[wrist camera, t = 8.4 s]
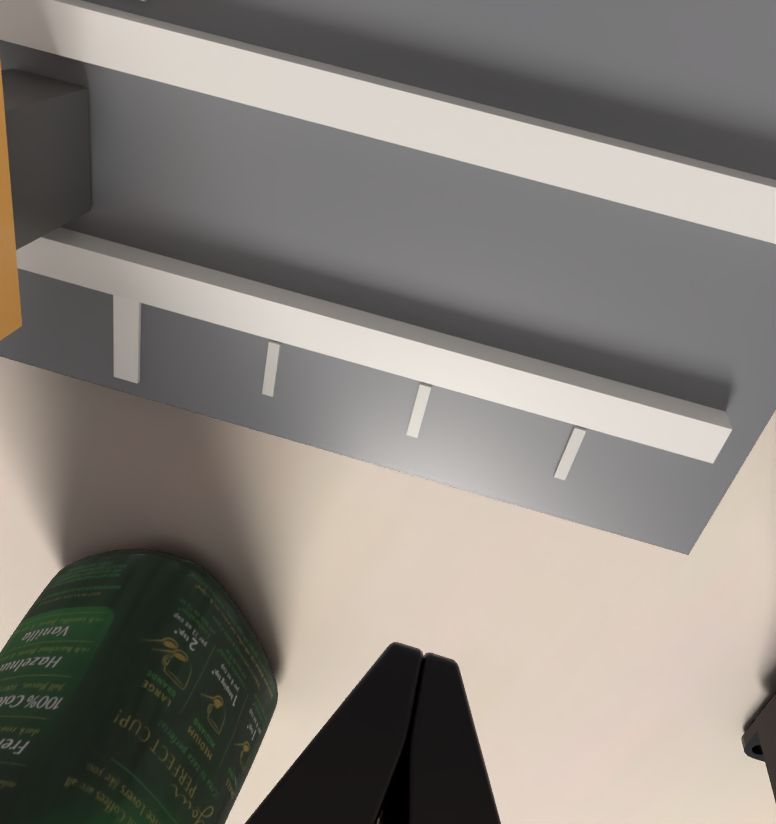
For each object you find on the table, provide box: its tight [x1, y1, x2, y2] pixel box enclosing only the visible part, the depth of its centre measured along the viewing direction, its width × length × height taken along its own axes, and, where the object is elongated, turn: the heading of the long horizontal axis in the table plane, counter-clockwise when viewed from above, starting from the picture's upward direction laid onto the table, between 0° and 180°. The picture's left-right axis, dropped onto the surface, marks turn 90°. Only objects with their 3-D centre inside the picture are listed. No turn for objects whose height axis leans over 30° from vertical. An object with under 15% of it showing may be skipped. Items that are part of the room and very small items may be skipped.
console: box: [0, 0, 776, 555], centre depth 17 cm, size 21×13×3 cm, turn 79°
